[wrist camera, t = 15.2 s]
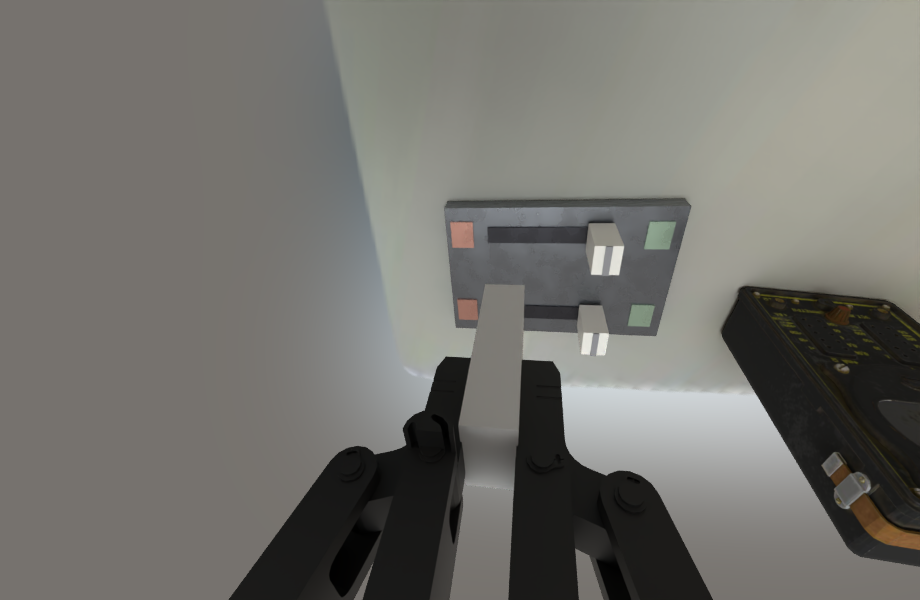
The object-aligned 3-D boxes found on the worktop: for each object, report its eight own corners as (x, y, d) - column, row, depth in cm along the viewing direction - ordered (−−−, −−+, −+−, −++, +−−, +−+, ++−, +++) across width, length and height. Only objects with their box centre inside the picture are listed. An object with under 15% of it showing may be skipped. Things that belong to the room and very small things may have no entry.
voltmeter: (900, 292, 41) (1254, 553, 21) (850, 353, 46) (1097, 612, 26) (740, 277, 43) (923, 503, 23) (709, 337, 48) (836, 567, 28)
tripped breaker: (579, 304, 45) (583, 333, 41) (602, 305, 45) (609, 334, 40) (576, 325, 47) (581, 355, 43) (598, 326, 46) (605, 356, 42)
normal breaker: (588, 223, 39) (595, 247, 35) (615, 223, 39) (624, 247, 35) (585, 250, 41) (591, 275, 37) (610, 250, 41) (619, 276, 37)
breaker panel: (447, 201, 43) (443, 209, 41) (684, 198, 39) (691, 206, 37) (458, 318, 52) (455, 328, 50) (652, 325, 48) (656, 337, 46)
